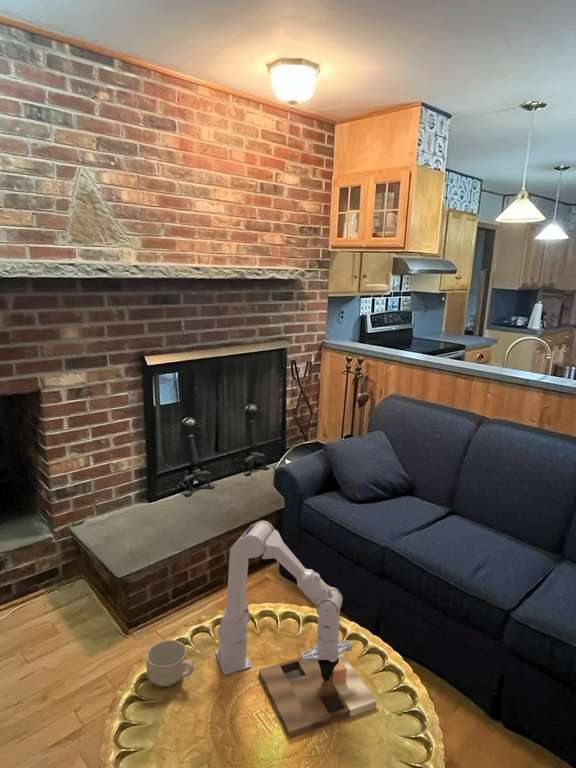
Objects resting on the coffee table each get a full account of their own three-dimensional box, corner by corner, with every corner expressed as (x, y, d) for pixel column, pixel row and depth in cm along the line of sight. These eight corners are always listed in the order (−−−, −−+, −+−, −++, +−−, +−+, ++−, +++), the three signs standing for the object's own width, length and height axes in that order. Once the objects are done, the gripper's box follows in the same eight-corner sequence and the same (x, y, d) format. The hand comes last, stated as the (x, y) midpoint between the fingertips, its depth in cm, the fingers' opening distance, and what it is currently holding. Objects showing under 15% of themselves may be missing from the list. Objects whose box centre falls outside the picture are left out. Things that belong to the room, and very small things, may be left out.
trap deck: (258, 675, 137) (259, 669, 137) (337, 652, 147) (337, 646, 147) (288, 739, 118) (289, 732, 118) (376, 707, 128) (376, 700, 128)
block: (326, 674, 136) (326, 662, 135) (338, 670, 138) (339, 658, 137) (332, 685, 132) (333, 672, 132) (345, 681, 134) (346, 668, 133)
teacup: (138, 680, 134) (137, 654, 133) (168, 656, 143) (168, 632, 142) (173, 705, 127) (173, 679, 125) (203, 679, 135) (203, 654, 134)
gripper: (310, 651, 124) (307, 697, 127) (359, 637, 130) (356, 681, 133) (298, 633, 131) (296, 677, 133) (345, 620, 136) (343, 663, 139)
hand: (325, 678), depth 133 cm, fingers closed
